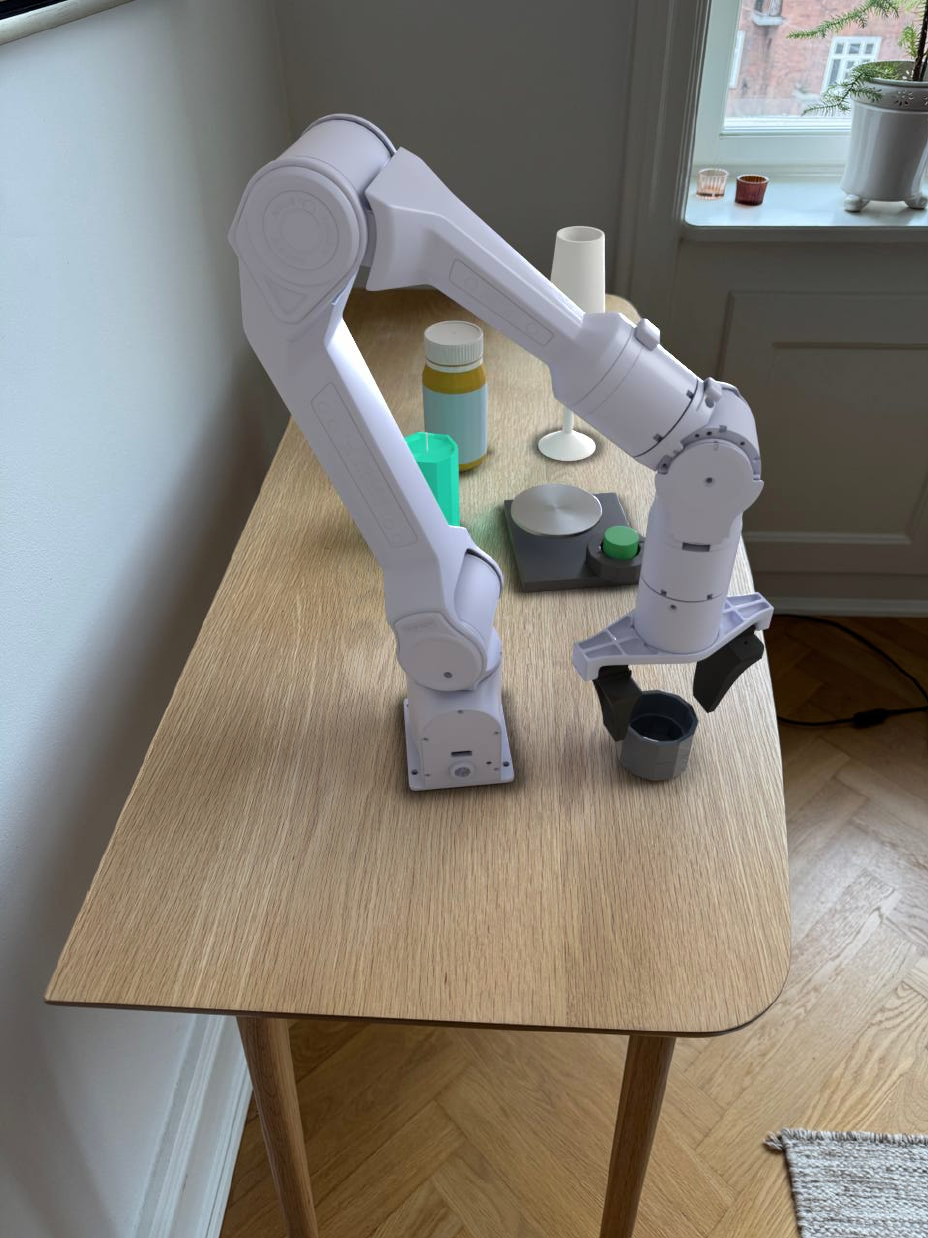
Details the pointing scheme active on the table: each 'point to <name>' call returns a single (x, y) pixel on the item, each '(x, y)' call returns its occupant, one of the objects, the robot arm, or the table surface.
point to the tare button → (620, 542)
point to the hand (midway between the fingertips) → (659, 717)
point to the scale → (574, 554)
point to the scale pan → (556, 511)
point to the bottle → (456, 388)
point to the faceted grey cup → (658, 736)
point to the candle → (439, 470)
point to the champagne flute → (584, 285)
